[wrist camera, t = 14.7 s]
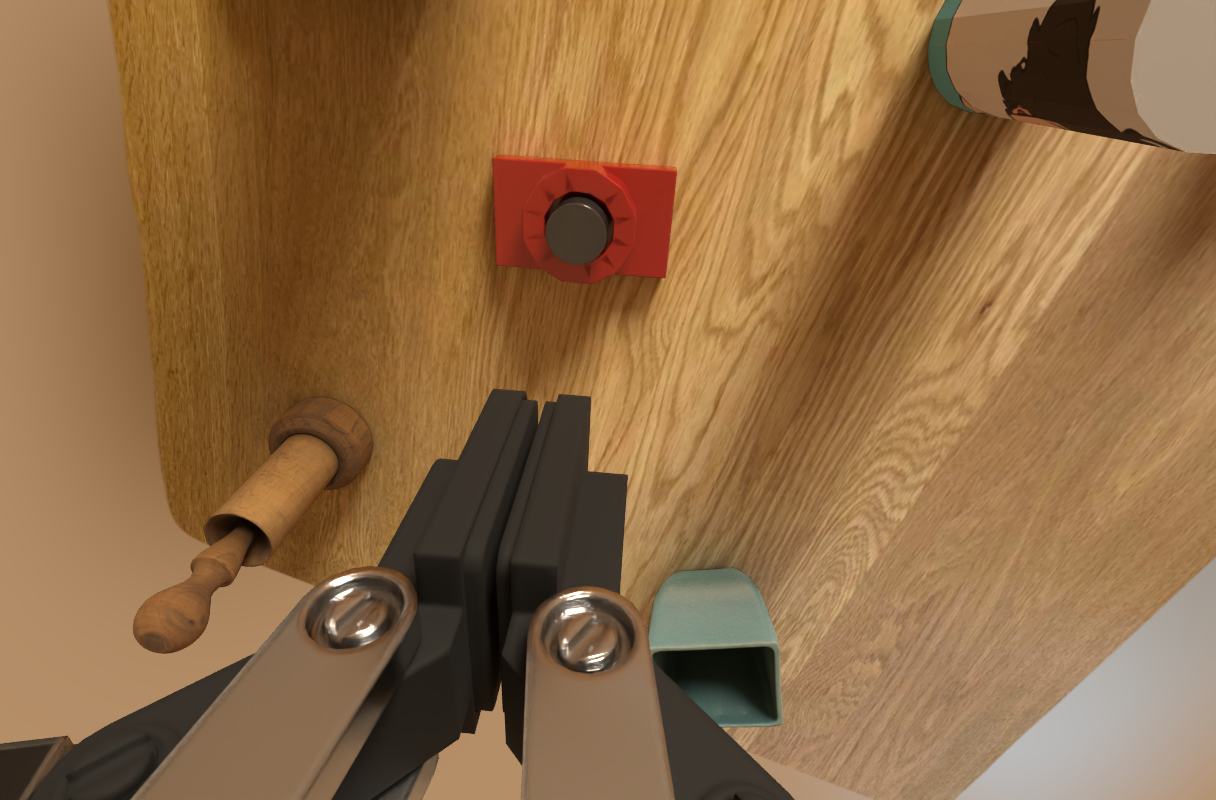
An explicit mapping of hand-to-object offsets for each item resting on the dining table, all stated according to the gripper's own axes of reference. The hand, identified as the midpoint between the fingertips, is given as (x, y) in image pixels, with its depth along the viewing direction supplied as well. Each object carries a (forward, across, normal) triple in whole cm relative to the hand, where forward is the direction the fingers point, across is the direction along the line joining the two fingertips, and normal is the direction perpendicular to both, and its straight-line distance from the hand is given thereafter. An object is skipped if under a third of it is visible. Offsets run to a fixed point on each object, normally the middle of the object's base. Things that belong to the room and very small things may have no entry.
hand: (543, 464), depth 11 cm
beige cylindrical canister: (+27, -18, -8) cm, 34 cm away
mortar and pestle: (+27, +20, +19) cm, 39 cm away
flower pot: (+27, -9, +31) cm, 42 cm away
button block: (+27, +2, +2) cm, 27 cm away
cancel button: (+25, +2, +2) cm, 25 cm away
